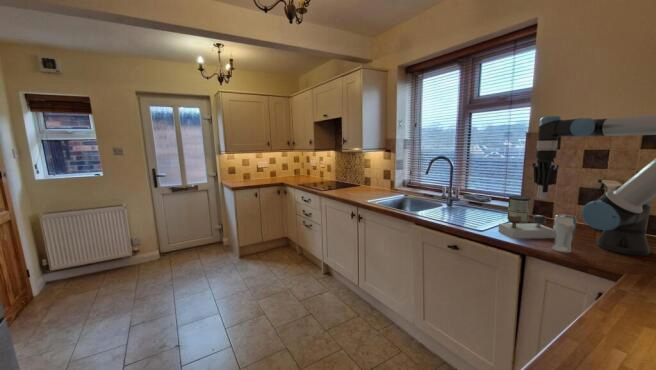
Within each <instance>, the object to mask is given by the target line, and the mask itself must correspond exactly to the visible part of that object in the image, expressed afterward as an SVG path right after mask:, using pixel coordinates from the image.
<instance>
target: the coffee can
mask: <svg viewBox="0 0 656 370" xmlns="http://www.w3.org/2000/svg"><path fill="white" fill-rule="evenodd" d="M530 204H531V197H529V196H526V195H525V196H524V195H509V196H508V207H507V219H508V220H509V215H518V216H521V223H520V224H528V222H529V217H530V208H531V207H530V206H531V205H530ZM508 220H507V221H508Z"/></svg>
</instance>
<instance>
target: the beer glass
mask: <svg viewBox="0 0 656 370" xmlns="http://www.w3.org/2000/svg"><path fill="white" fill-rule="evenodd" d="M576 227H577V216H575V215H571V214H565V213H556V214H555V215H554V220H553V227H552V229H554V238H553V240H554V242H553V245H552V248H551V249H552V250H553V251H555V252H559V253H562V254H563V253H566V254H569V253H572V247H571V246H572V245H571V244H572V241H573V238H574V236H575V235H574V234H575V233H576Z"/></svg>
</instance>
